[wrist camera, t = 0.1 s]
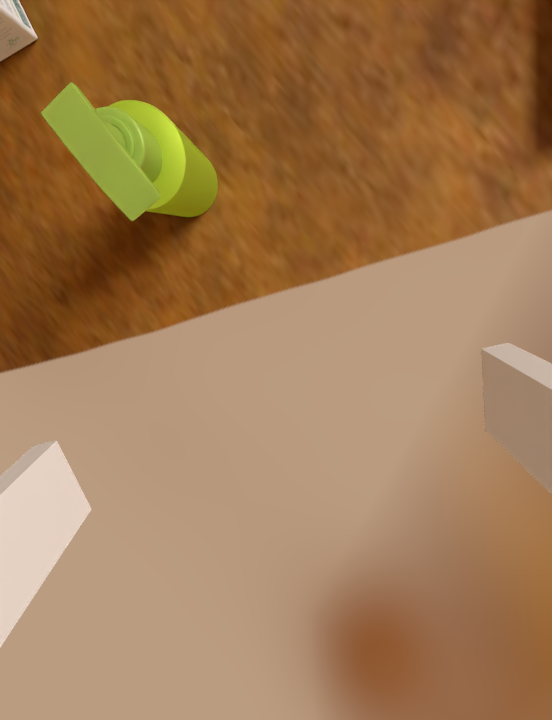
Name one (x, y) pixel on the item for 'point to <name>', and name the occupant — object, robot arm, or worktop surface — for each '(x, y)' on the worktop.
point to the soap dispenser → (134, 155)
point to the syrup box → (14, 28)
